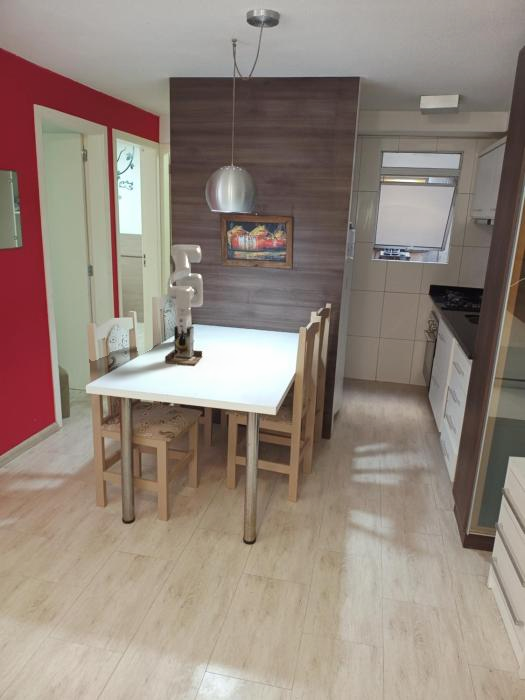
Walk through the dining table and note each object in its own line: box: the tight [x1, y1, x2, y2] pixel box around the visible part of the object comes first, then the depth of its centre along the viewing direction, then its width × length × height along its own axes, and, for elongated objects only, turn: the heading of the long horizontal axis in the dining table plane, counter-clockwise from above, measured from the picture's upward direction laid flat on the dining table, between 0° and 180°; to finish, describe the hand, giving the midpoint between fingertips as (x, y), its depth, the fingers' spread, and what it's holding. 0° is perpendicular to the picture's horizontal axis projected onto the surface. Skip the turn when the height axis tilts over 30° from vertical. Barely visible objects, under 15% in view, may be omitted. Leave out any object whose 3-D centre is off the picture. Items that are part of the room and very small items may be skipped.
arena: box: [164, 348, 203, 367], centre depth 285 cm, size 16×16×4 cm
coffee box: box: [173, 325, 195, 357], centre depth 285 cm, size 9×6×16 cm
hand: (184, 343), depth 285 cm, fingers closed on coffee box, 6 cm apart
